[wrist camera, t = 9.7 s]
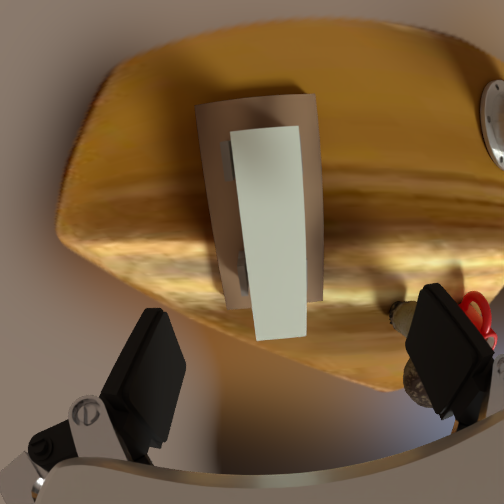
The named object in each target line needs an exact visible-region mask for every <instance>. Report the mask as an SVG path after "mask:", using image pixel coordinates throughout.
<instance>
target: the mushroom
mask: <svg viewBox="0 0 504 504" xmlns="http://www.w3.org/2000/svg"><path fill="white" fill-rule="evenodd" d="M416 304H417V302H416V301H408V302H405V301H404V302H401V301H397V302H395V303H394V304H393V305H392V307H391V310H390V315H389V317H390V319H389V320H391V322H390V324H393V327H394V329H396V330H397V331H398V332H400V333H401V334H403V335H404V336H405V337H406V338H407V336H408V332H409V329H410V326H411V322H412V319H413V315H414V312H415V308H416ZM403 384H404V388H405V391H406V393H407V394H408V395H409V396H410V397H411V399H412V400H413V401H414V402H416V403H417V404H418V405H420V406H423V407H428V408H433V406H432V404H431V402H430V399H429V397H428V395H427V393H426V390H425V388H424V386H423V384H422V382H421V379H420V377H419V375H418V373H417V371H416V369H415V367H414V365H413V363H412V361H411V359H410V358H409V360H408V362H407V364H406V366H405V368H404V375H403Z"/></svg>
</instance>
